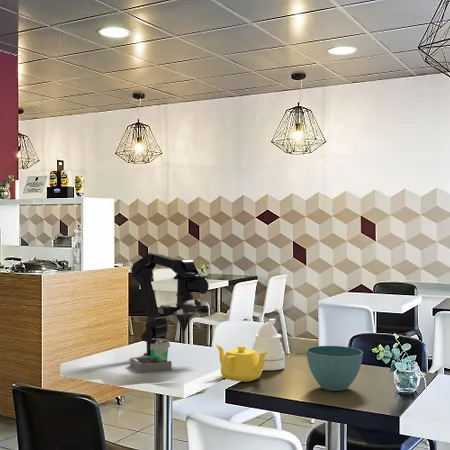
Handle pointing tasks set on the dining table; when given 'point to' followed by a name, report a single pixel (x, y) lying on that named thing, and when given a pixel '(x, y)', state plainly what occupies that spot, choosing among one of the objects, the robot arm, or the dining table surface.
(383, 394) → the dining table surface
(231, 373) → the teapot
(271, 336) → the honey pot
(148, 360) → the pocket bay
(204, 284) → the robot arm
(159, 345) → the food container
